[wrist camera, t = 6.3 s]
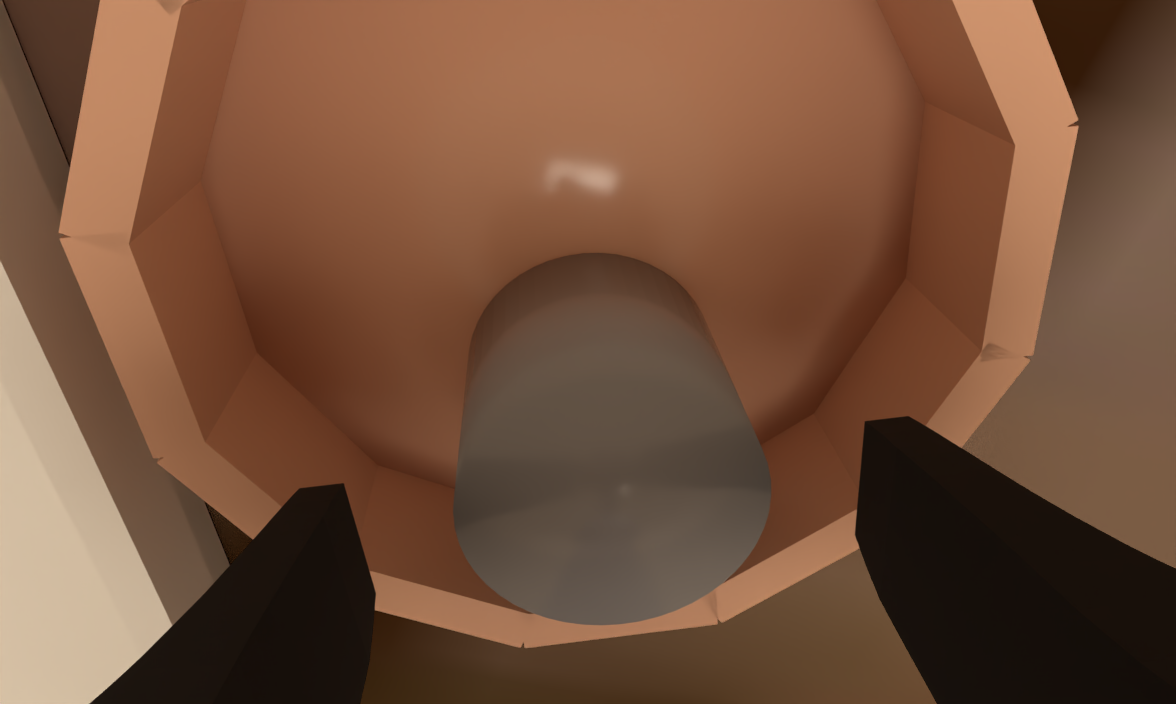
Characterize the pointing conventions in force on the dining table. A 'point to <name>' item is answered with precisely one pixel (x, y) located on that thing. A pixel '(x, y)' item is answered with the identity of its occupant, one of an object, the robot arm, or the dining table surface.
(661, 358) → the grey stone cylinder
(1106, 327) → the dining table surface
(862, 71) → the bowl
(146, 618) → the tray
